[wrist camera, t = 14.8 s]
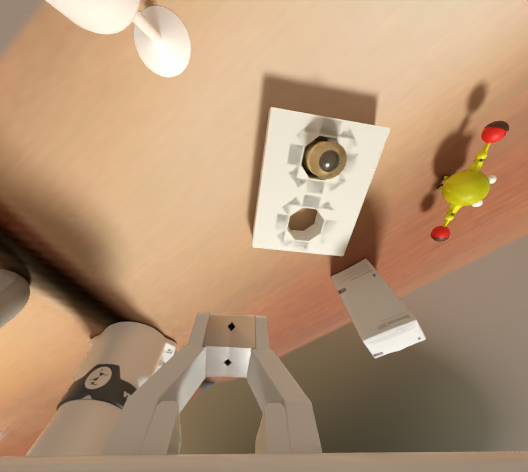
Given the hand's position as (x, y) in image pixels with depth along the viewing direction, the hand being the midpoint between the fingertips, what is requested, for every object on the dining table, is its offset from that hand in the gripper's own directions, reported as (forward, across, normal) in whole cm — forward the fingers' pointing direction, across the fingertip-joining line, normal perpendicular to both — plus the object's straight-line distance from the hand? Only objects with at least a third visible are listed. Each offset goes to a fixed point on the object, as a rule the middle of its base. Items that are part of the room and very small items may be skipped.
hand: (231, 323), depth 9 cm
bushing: (+27, +10, +6) cm, 30 cm away
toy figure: (+27, +33, +5) cm, 43 cm away
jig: (+27, +10, +1) cm, 29 cm away
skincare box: (+27, +24, -16) cm, 40 cm away
